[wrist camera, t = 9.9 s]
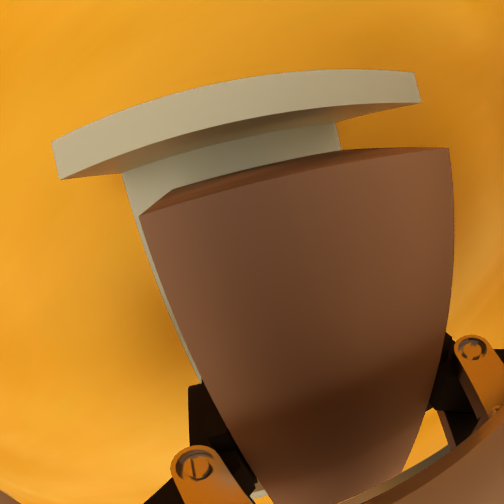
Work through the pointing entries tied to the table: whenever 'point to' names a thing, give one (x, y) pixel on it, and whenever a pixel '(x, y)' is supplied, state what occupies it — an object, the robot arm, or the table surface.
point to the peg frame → (225, 134)
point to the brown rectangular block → (314, 308)
